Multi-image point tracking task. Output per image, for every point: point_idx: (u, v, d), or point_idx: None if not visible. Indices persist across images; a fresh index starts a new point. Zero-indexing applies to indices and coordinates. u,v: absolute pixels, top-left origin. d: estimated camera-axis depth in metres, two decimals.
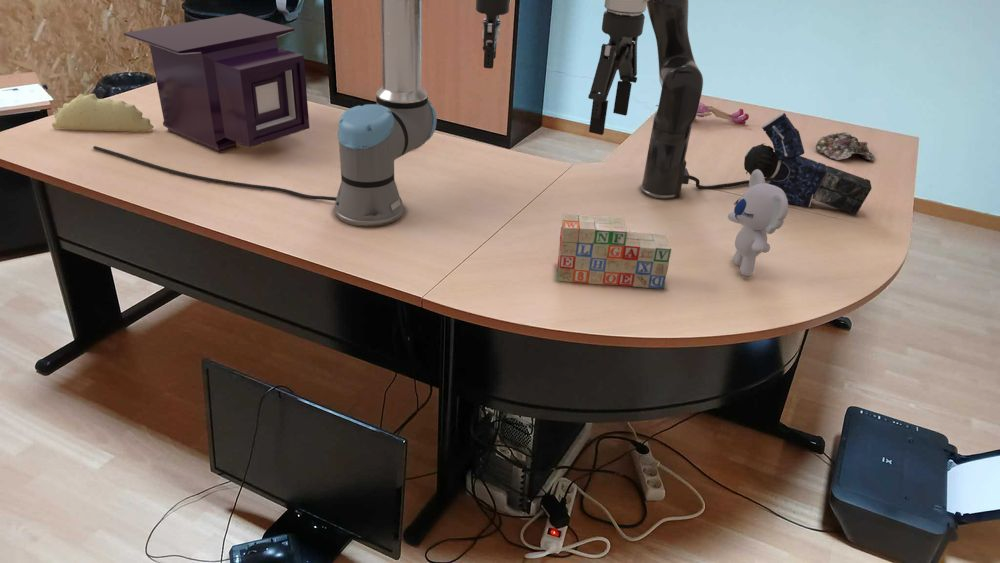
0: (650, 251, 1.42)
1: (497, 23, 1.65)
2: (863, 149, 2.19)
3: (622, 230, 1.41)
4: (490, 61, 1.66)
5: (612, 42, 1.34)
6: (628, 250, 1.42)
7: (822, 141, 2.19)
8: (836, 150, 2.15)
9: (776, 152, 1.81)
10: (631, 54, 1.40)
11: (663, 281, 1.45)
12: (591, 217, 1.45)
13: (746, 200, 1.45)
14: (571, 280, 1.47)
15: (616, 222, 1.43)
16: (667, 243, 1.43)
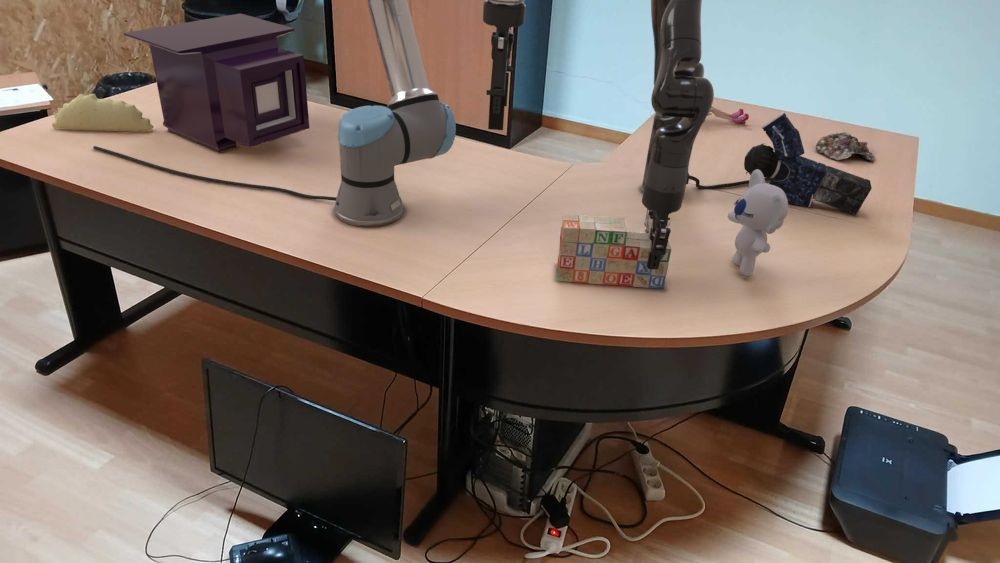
0: None
1: None
2: (863, 149, 2.19)
3: (622, 230, 1.41)
4: (656, 263, 1.42)
5: None
6: (628, 250, 1.42)
7: (822, 141, 2.19)
8: (836, 150, 2.15)
9: (776, 152, 1.81)
10: None
11: (663, 281, 1.45)
12: (591, 217, 1.45)
13: (746, 200, 1.45)
14: (571, 280, 1.47)
15: (617, 222, 1.43)
16: None
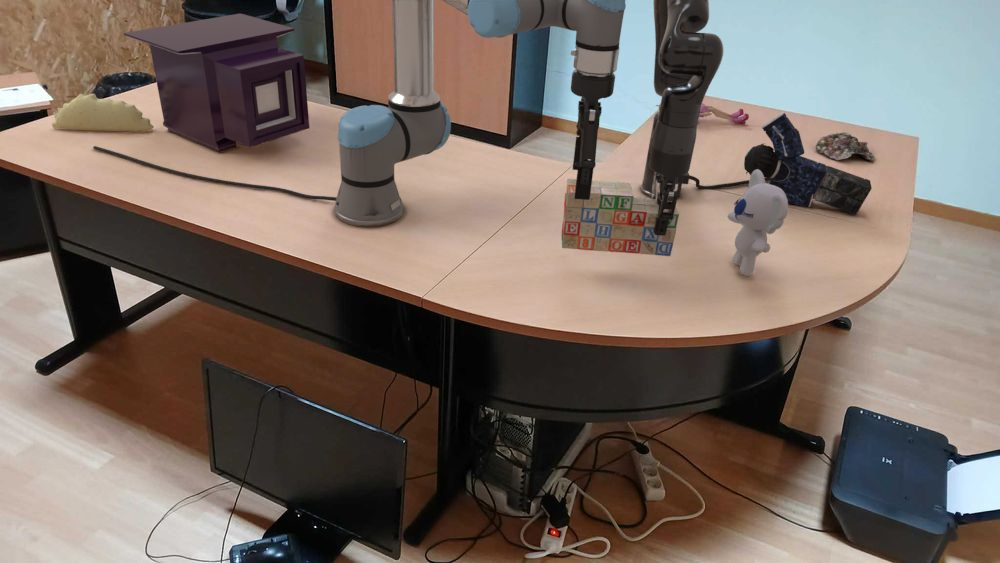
0: None
1: None
2: (863, 149, 2.19)
3: (628, 194, 1.37)
4: (664, 228, 1.38)
5: None
6: (635, 215, 1.39)
7: (822, 141, 2.19)
8: (836, 150, 2.15)
9: (776, 152, 1.81)
10: (579, 120, 1.30)
11: (670, 248, 1.42)
12: (596, 182, 1.41)
13: (746, 200, 1.45)
14: (576, 247, 1.43)
15: (622, 187, 1.39)
16: None
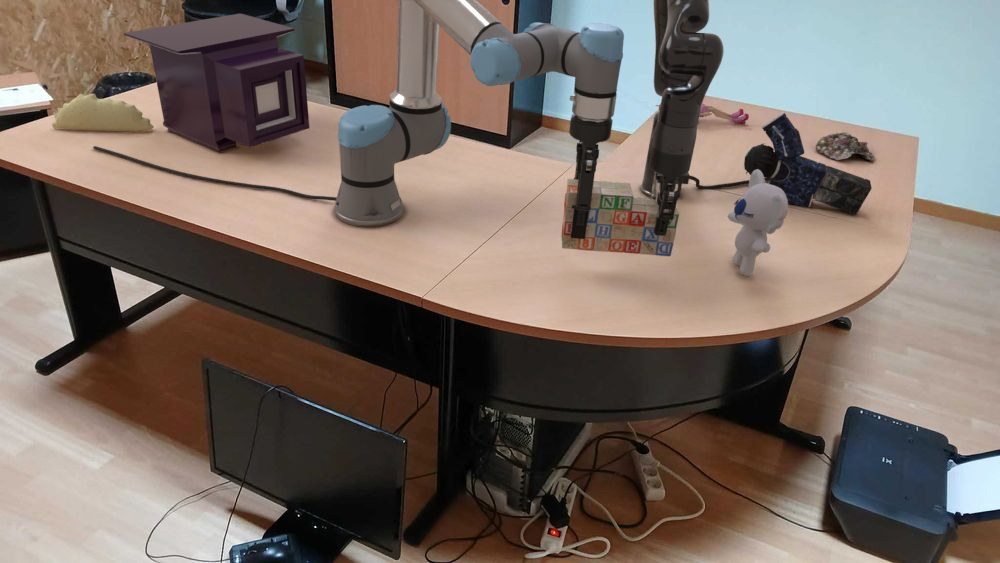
0: None
1: None
2: (863, 149, 2.19)
3: (628, 195, 1.37)
4: (664, 229, 1.38)
5: None
6: (635, 216, 1.38)
7: (822, 141, 2.19)
8: (836, 150, 2.15)
9: (776, 152, 1.81)
10: (577, 163, 1.34)
11: (670, 248, 1.41)
12: (596, 182, 1.41)
13: (746, 200, 1.45)
14: (576, 247, 1.43)
15: (623, 187, 1.39)
16: (675, 209, 1.40)
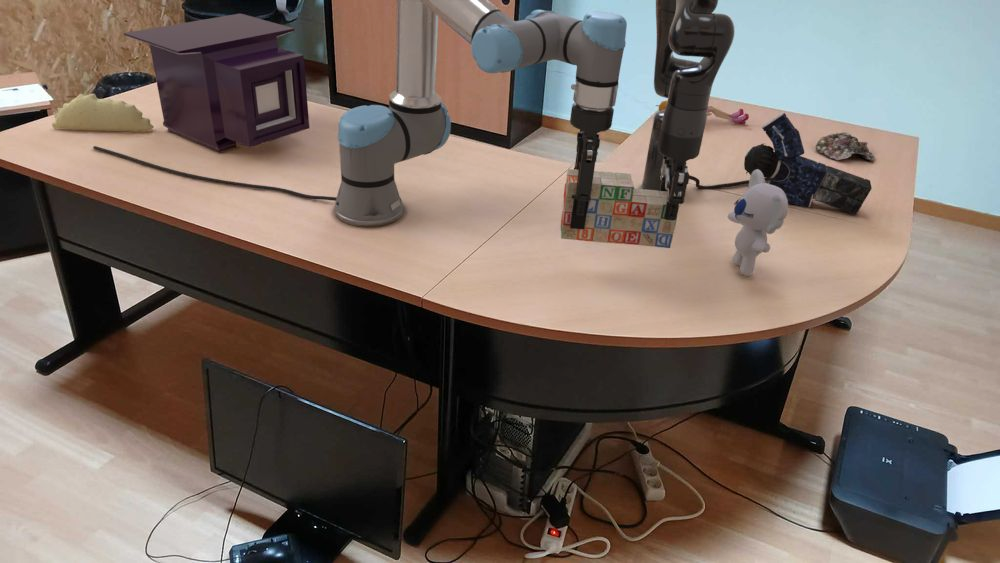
0: (657, 208, 1.37)
1: (684, 167, 1.34)
2: (863, 149, 2.19)
3: (629, 185, 1.36)
4: (674, 213, 1.35)
5: None
6: (635, 206, 1.38)
7: (822, 141, 2.19)
8: (836, 150, 2.15)
9: (776, 152, 1.81)
10: (578, 152, 1.33)
11: (670, 240, 1.41)
12: (596, 172, 1.40)
13: (746, 200, 1.45)
14: (575, 238, 1.42)
15: (623, 178, 1.39)
16: None
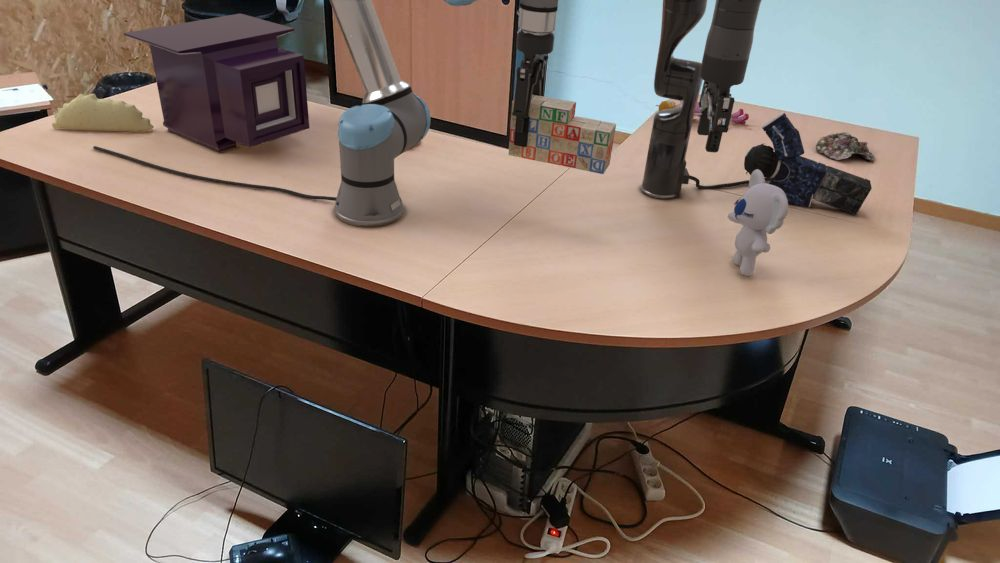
0: (590, 133, 1.49)
1: None
2: (863, 149, 2.19)
3: (565, 109, 1.49)
4: (717, 144, 1.28)
5: None
6: (571, 130, 1.51)
7: (822, 141, 2.19)
8: (836, 150, 2.15)
9: (776, 152, 1.81)
10: None
11: (603, 166, 1.52)
12: (545, 98, 1.54)
13: (746, 200, 1.45)
14: (520, 155, 1.57)
15: (566, 103, 1.52)
16: (610, 128, 1.50)
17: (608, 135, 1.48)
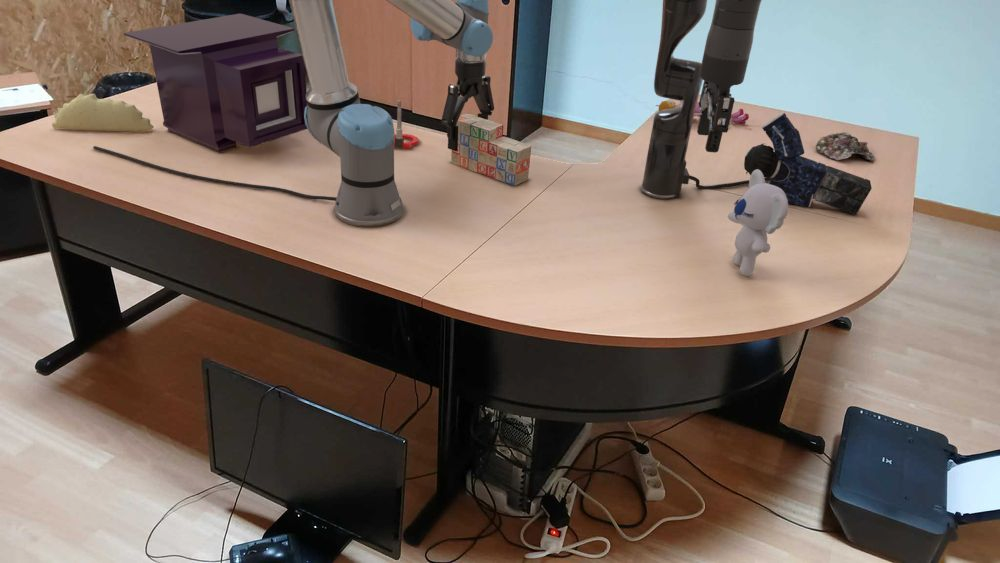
0: (503, 150, 1.81)
1: None
2: (863, 149, 2.19)
3: (487, 129, 1.83)
4: (717, 144, 1.28)
5: None
6: (491, 146, 1.84)
7: (822, 141, 2.19)
8: (836, 150, 2.15)
9: (776, 152, 1.81)
10: None
11: (514, 179, 1.83)
12: (481, 119, 1.89)
13: (746, 200, 1.45)
14: (458, 164, 1.93)
15: (493, 125, 1.85)
16: (520, 149, 1.81)
17: (516, 154, 1.80)
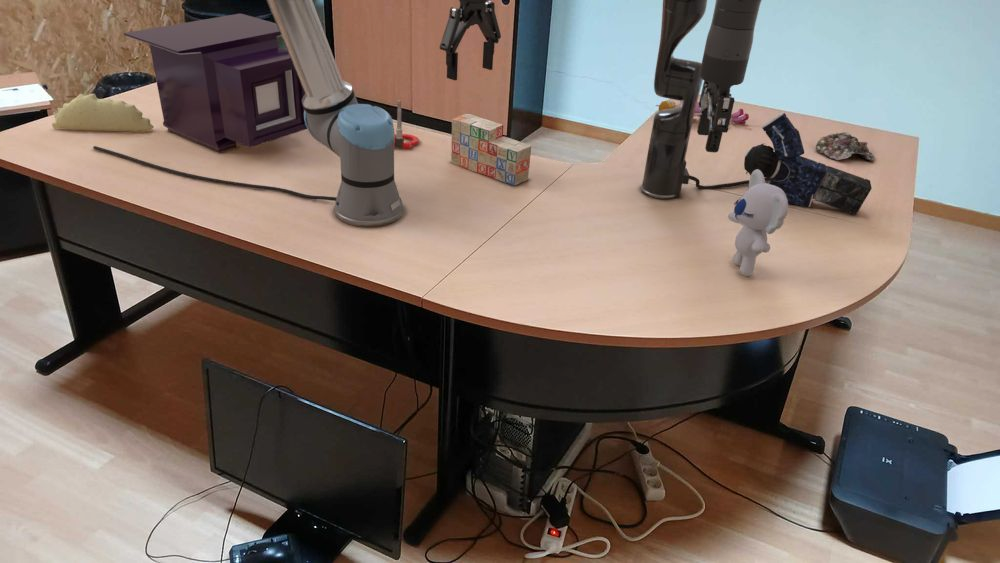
0: (503, 150, 1.81)
1: None
2: (863, 149, 2.19)
3: (487, 129, 1.83)
4: (717, 144, 1.28)
5: None
6: (491, 146, 1.84)
7: (822, 141, 2.19)
8: (836, 150, 2.15)
9: (776, 152, 1.81)
10: None
11: (514, 179, 1.83)
12: (481, 119, 1.89)
13: (746, 200, 1.45)
14: (458, 164, 1.93)
15: (493, 125, 1.85)
16: (520, 149, 1.81)
17: (516, 154, 1.80)
